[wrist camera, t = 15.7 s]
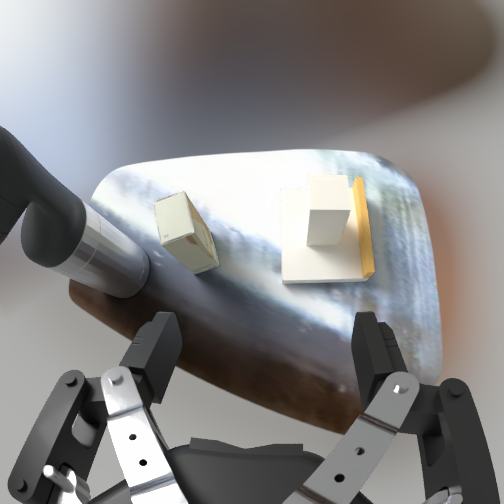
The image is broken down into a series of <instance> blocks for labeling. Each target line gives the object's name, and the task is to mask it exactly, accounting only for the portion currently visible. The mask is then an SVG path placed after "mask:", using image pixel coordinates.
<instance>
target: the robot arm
mask: <svg viewBox="0 0 504 504" xmlns="http://www.w3.org/2000/svg"><path fill="white" fill-rule="evenodd" d="M26 208H27V209H26ZM25 209H26V213H25V216H24V219H23V223H22V228H21V244H22V248H23V250H24V253H25V254H26V256H27V257H28V258H29V259H30V260H32V261H33V262H35V263H37V264H39V265H41V266H44V267H46V268H48V269H50V270H52V271H55V272H57V273H59V274H62V275H64V276H66V277H69V278H71V279H73V280H76V281H78V282H80V283H83V284H85V285H87V286H90V287H92V288H95V289H97V290H100V291H102V292H104V293H107V294H110V295H112V296H115V297H118V298H128V297H131V296H133V295H135V294H136V293H138V292H139V291H140V290H141V289H142V288H143V286H144V284H145V283H146V281H147V278H148V275H149V268H150V264H149V259H148V256H147V254H146V252H145V251H144V250H143V249H142V248H141V247H140V246H138V245H137V244H136V243H135V242H133V241H132V240H131V239H130V238H128V237H127V236H126V235H124V234H123V233H122V232H121V231H119V230H118V229H117V228H115V227H114V226H113V225H112V224H110V223H109V222H108V221H107V220H105V219H104V218H103V217H102V216H100V215H99V214H98V213H97V212H96V211H94V210H93V209H92V208H90V207H89V206H88V205H87V204H85V203H84V202H83V201H82V200H81V199H80V198H78V197H77V196H76V195H75V194H73V193H72V192H71V191H70V190H68V189H67V188H66V187H65V186H64V185H63V184H61V183H60V182H59V181H58V180H57V179H56V178H55V177H54V176H52V175H51V174H50V173H49V172H48V171H47V170H46V169H45V168H44V167H43V166H42V165H41V164H40V163H39V162H38V161H37V160H36V159H35V158H34V157H33V155H31V153H30V152H29V151H28V150H27V149H26V148H25V147H24V146H23V145H22V144H21V143H20V142H19V141H18V140H17V139H16V138H15V137H14V136H13V135H12V134H11V133H10V132H9V131H7V130H6V129H5V128H3V127H1V126H0V244H1V243H2V242H3V241H4V240H5V238H6V237H7V235H8V234H9V232H10V231H11V229H12V228H13V226H14V225H15V223H16V222H17V220H18V219H19V218H20V216H21V215H22V213H23V212H24V211H25ZM351 348H352V355H353V360H354V365H355V370H356V375H357V380H358V386H359V391H360V397H361V402H362V408H363V410H366V411H365V412H364V413H363V415H362V414H361V415H360V416H359V417H358V418H357V419H356V421H355V422H354V423H353V425H352V426H351V427H350V429H349V430H348V431H347V433H346V434H345V435H344V437H343V438H342V439H341V440H340V442H339V443H338V444H337V446H336V447H335V448H334V449H333V451H332V452H331V453H330V454H329V455H328V457H327V458H326V459H324V458H323V457H321V456H319V455H317V454H314V453H311V452H307V451H303V444H272V445H266V446H261V447H255V448H249V449H243V448H239V447H236V446H233V445H230V444H227V443H223V442H220V441H217V440H208V439H199V438H191V441H190V444H188V445H182V446H178V447H175V448H172V449H169V447H168V446H167V444H166V442H165V440H164V438H163V436H162V434H161V432H160V430H159V428H158V425H157V423H156V421H155V419H154V417H153V414H152V412H151V410H150V406H151V403H158V404H161V402H162V399H163V396H164V394H165V391H166V389H167V386H168V383H169V381H170V378H171V376H172V373H173V370H174V368H175V365H176V363H177V360H178V358H179V355H180V352H181V350H182V336H181V332H180V329H179V325H178V322H177V318H176V315H175V313H174V312H157V313H156V315H155V317H154V319H153V320H152V322H147V323H146V324H144V325H143V326H142V327H141V328H140V329H139V331H138V332H137V334H136V336H135V338H134V339H133V341H132V344H131V345H130V346H129V348H128V350H127V352H126V353H125V355H124V357H123V359H122V361H121V362H120V364H119V366H115V367H112V368H110V369H108V370H107V371H105V373H104V374H103V375H102V377H96V378H85V376H84V374H83V373H82V372H80V371H79V370H71V371H68V372H66V373H64V374H63V375H62V376H61V377H60V379H59V380H58V382H57V384H56V385H55V387H54V389H53V391H52V392H51V394H50V396H49V398H48V400H47V401H46V403H45V405H44V407H43V409H42V411H41V413H40V414H39V416H38V418H37V420H36V422H35V424H34V426H33V428H32V430H31V432H30V434H29V436H28V438H27V440H26V442H25V444H24V446H23V448H22V450H21V452H20V454H19V456H18V459H17V461H16V463H15V465H14V467H13V470H12V472H11V474H10V477H9V479H8V489H9V492H10V494H11V495H12V497H14V498H15V499H16V500H18V501H19V502H21V503H23V504H373V503H372V502H371V501H370V500H369V499H367V497H365V496H364V495H363V494H362V493H361V492H360V491H359V490H360V489H361V488H362V486H363V485H364V483H365V482H366V481H367V479H368V478H369V476H370V475H371V474H372V472H373V471H374V469H375V468H376V466H377V465H378V463H379V462H380V460H381V459H382V457H383V455H384V454H385V452H386V451H387V449H388V447H389V446H390V444H391V442H392V441H393V439H394V437H395V436H396V434H397V432H400V433H408V434H416V435H417V439H418V445H419V451H420V457H421V464H422V471H423V479H424V488H425V497H426V501H425V502H424V503H422V504H500V499H499V493H498V488H497V483H496V478H495V473H494V469H493V465H492V461H491V457H490V453H489V449H488V445H487V441H486V438H485V435H484V431H483V428H482V425H481V422H480V419H479V415H478V412H477V409H476V407H475V404H474V401H473V398H472V396H471V392H470V390H469V388H468V386H467V385H466V384H465V383H464V382H463V381H461V380H459V379H456V378H450V379H446V380H445V381H443V382H442V383H441V385H440V386H431V385H424V384H420V383H419V382H418V380H417V379H416V378H415V377H414V376H413V375H411V374H409V373H408V371H407V369H406V366H405V363H404V360H403V357H402V354H401V352H400V349H399V347H398V344H397V341H396V340H395V336H394V333H393V330H392V329H391V328H390V327H389V326H388V325H387V324H386V323H385V322H379V323H378V322H377V319H376V316H375V313H374V312H373V311H369V312H357V313H356V316H355V322H354V328H353V334H352V341H351ZM77 414H79V415H78V417H77V419H76V421H75V424H74V426H73V428H72V425H73V423H74V420H75V418H76V416H77ZM107 423H108V426H109V430H110V433H111V436H112V439H113V443H114V446H115V449H116V452H117V454H118V458H119V460H120V463H121V466H122V469H123V471H124V474H125V477H126V479H124V480H123V481H121V482H119V483H118V484H116V485H115V486H113V487H111V488H110V489H108V490H107V491H105V492H103V493H102V494H100V495H98V496H97V497H95V498H93V499H92V500H91V497H90V495H89V494H90V490H89V486H88V484H87V483H86V481H87V478H88V475H89V472H90V469H91V466H92V463H93V461H94V458H95V455H96V452H97V450H98V447H99V444H100V441H101V439H102V436H103V434H104V431H105V428H106V426H107Z"/></svg>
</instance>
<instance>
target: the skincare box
mask: <svg viewBox="0 0 504 504" xmlns="http://www.w3.org/2000/svg"><path fill="white" fill-rule="evenodd" d="M154 210H155V216H156V222H157V227H158V232H159V238H160V243H161V245H162V246H163V247H164V248H165V249H166V250H167V251H168V252H169V253H171V254H172V255H173V256H174V257H175V258H176V259H177V260H178V261H179V262H181V263H182V264H183V265H184V266H185V267H186V268H187V269H188V270H189V271H191V272H192V273H193V274H197V273H201V272H204V271H207V270H210V269H213V268H215V267H218V266H219V265H220V264H219V260H218V256H217V252H216V248H215V245H214V242H213V238H212V235H211V232H210V230H209V228H208V227H207V225H206V224H205V222H204V221H203V219H202V218H201V216H200V215H199V213H198V212H197V210H196V209H195V207H194V205H193V204H192V202H191V201H190V199H189V198H188V196H187V194H186V193H185V191H182V192H179V193H176V194H173V195H170V196H168V197H165V198H162V199H160V200H157V201H155V202H154Z"/></svg>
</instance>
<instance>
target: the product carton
mask: <svg viewBox="0 0 504 504" xmlns="http://www.w3.org/2000/svg"><path fill="white" fill-rule="evenodd" d="M350 211H351V205H350V196H349V187H348V179H347V175H308V190H307V205H306V246H338V243H339V241H340V238H341V235H342V234H343V231H344V228H345V226H346V223H347V220H348V218H349V215H350Z"/></svg>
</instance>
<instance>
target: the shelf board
mask: <svg viewBox="0 0 504 504" xmlns="http://www.w3.org/2000/svg"><path fill="white" fill-rule="evenodd" d="M307 190H308V188H296V189H281V234H282V284H291V283H335V282H366V281H367V280H368V279H369V278H370V277H371V276H372V275H373V274H374V273H375V269H374V258H373V249H372V240H371V232H370V224H369V217H368V210H367V203H366V197H365V191H364V185H363V179H362V177H356V178H355V181H354V184H353V188H349V196H350V205H351V211H350V215H349V218H348V220H347V223H346V226H345V228H344V231H343V234H342V235H341V238H340V241H339V243H338V246H306V205H307Z"/></svg>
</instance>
